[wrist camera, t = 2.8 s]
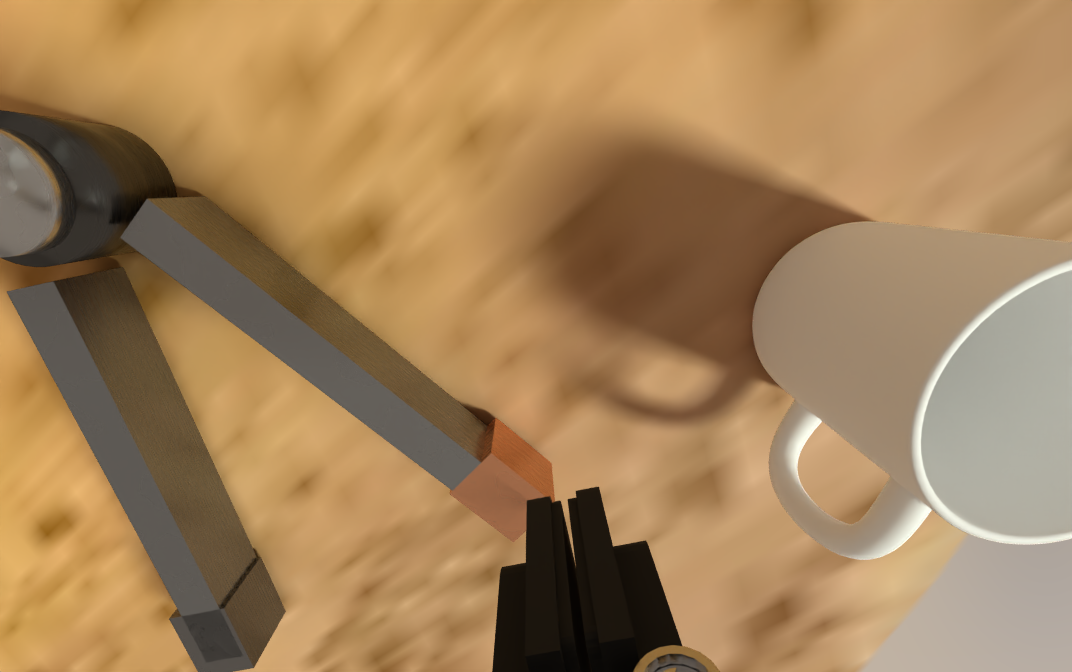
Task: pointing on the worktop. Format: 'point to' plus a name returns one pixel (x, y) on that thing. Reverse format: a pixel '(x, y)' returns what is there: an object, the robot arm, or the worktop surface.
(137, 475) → the base
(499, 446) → the tong arm
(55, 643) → the worktop surface
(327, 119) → the worktop surface
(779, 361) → the cup
